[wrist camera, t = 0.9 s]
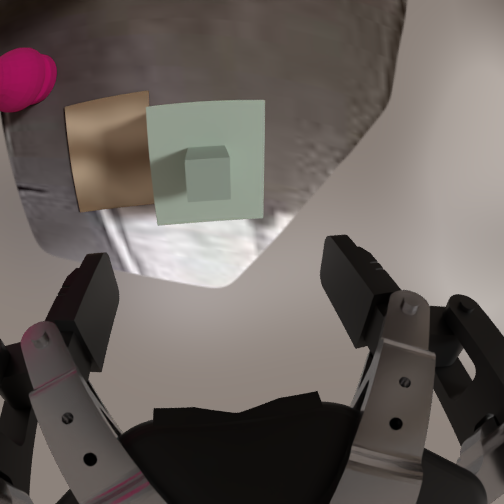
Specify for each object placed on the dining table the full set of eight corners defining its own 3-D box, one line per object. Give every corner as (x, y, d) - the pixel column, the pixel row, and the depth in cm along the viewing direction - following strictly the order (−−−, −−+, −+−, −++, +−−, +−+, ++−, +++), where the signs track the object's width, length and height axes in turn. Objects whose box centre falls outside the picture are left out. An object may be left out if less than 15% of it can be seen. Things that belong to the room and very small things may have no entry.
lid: (150, 106, 22) (131, 110, 16) (259, 99, 24) (279, 101, 17) (160, 216, 28) (149, 253, 21) (258, 209, 29) (275, 244, 23)
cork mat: (66, 106, 25) (64, 107, 25) (148, 90, 26) (147, 90, 26) (81, 211, 32) (80, 212, 31) (157, 202, 33) (157, 203, 33)
